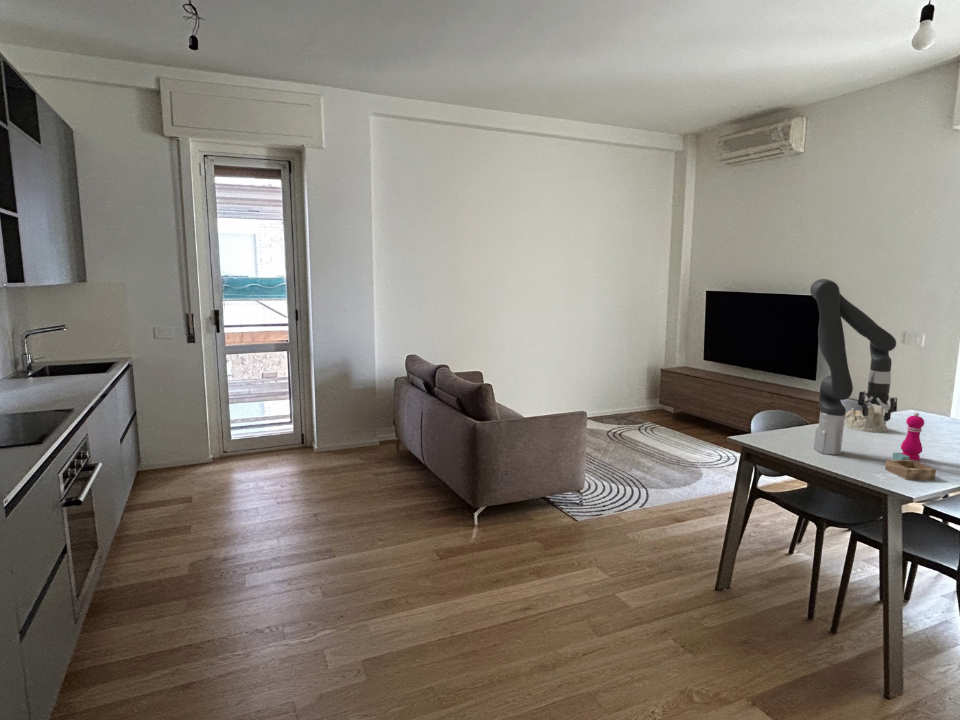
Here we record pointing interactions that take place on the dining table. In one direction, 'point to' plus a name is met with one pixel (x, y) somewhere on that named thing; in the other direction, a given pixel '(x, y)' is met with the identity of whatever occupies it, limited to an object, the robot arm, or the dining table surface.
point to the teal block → (900, 456)
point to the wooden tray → (910, 469)
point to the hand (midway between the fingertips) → (875, 418)
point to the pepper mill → (913, 437)
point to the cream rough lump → (866, 420)
